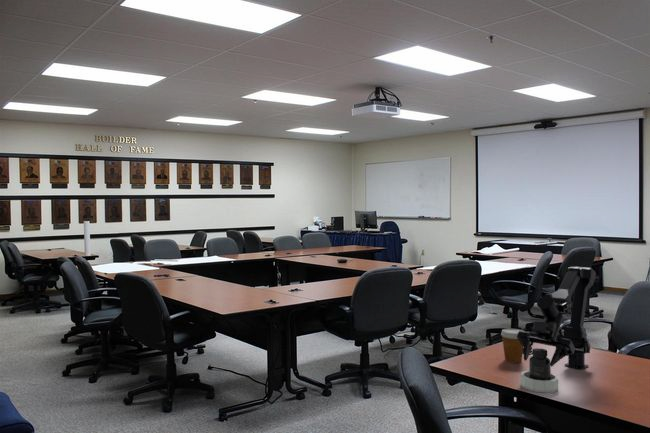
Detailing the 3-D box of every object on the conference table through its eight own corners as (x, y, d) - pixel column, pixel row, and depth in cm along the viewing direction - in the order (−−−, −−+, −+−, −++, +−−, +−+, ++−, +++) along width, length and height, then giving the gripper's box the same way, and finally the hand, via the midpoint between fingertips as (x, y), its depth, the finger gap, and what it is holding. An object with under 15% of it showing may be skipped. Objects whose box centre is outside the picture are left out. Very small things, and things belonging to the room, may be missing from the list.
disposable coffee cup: (495, 358, 219) (495, 329, 219) (514, 356, 222) (514, 327, 222) (511, 364, 210) (511, 334, 210) (530, 362, 214) (530, 332, 213)
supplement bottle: (555, 385, 183) (555, 350, 183) (541, 388, 180) (541, 353, 180) (538, 380, 189) (538, 346, 189) (525, 383, 186) (525, 348, 186)
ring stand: (533, 378, 193) (533, 368, 193) (565, 387, 183) (565, 376, 183) (513, 385, 186) (513, 374, 186) (546, 395, 176) (546, 383, 176)
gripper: (518, 308, 194) (504, 344, 186) (571, 315, 180) (558, 354, 173) (528, 326, 199) (514, 362, 192) (580, 335, 186) (567, 373, 178)
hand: (537, 362), depth 183 cm, fingers open, 9 cm apart
